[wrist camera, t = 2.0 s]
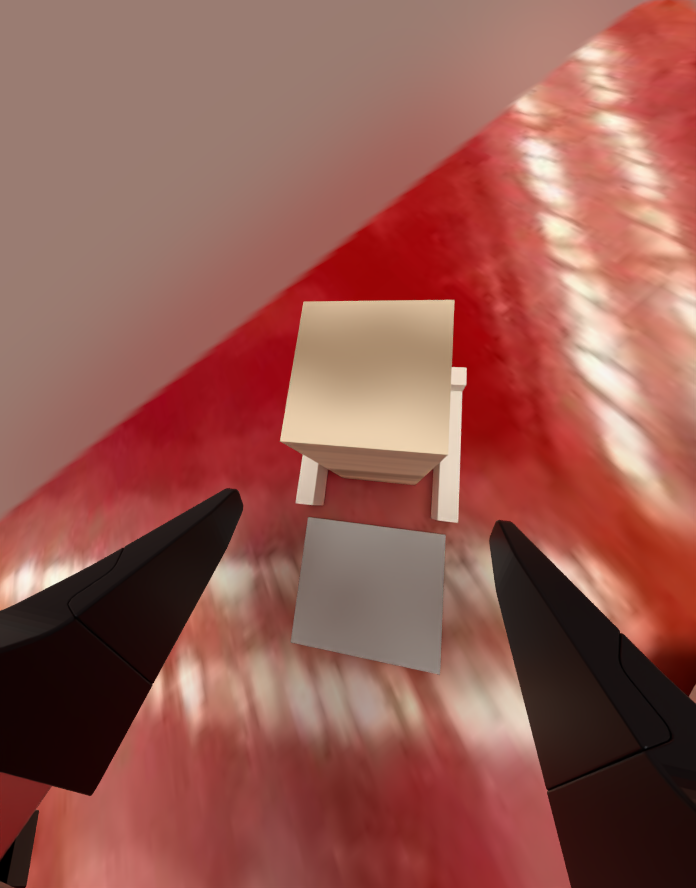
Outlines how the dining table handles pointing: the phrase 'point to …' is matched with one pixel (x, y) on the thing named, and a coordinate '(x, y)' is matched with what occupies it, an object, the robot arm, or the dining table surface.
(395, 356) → the birch block
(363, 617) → the grey pad
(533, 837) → the dining table surface
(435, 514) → the white angular bracket
